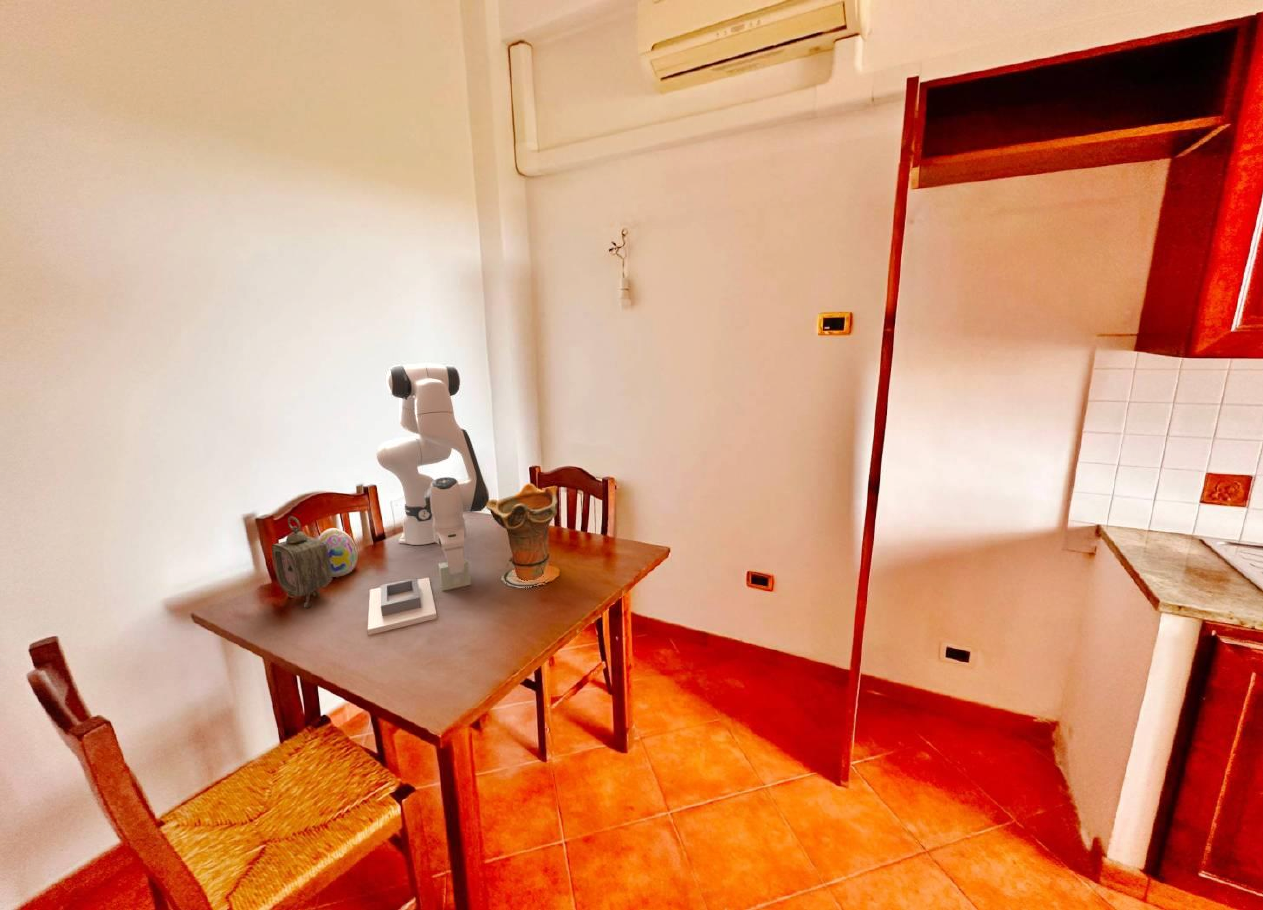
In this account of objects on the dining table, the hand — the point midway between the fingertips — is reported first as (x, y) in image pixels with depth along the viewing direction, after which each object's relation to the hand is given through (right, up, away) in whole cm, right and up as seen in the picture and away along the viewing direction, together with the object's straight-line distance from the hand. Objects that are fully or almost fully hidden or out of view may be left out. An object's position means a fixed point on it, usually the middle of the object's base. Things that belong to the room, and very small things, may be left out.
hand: (454, 576), depth 149 cm
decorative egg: (-42, -2, +12) cm, 43 cm away
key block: (0, -3, +1) cm, 3 cm away
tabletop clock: (-40, -5, -5) cm, 41 cm away
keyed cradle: (-11, -5, -11) cm, 16 cm away
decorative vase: (+22, -1, +6) cm, 23 cm away
